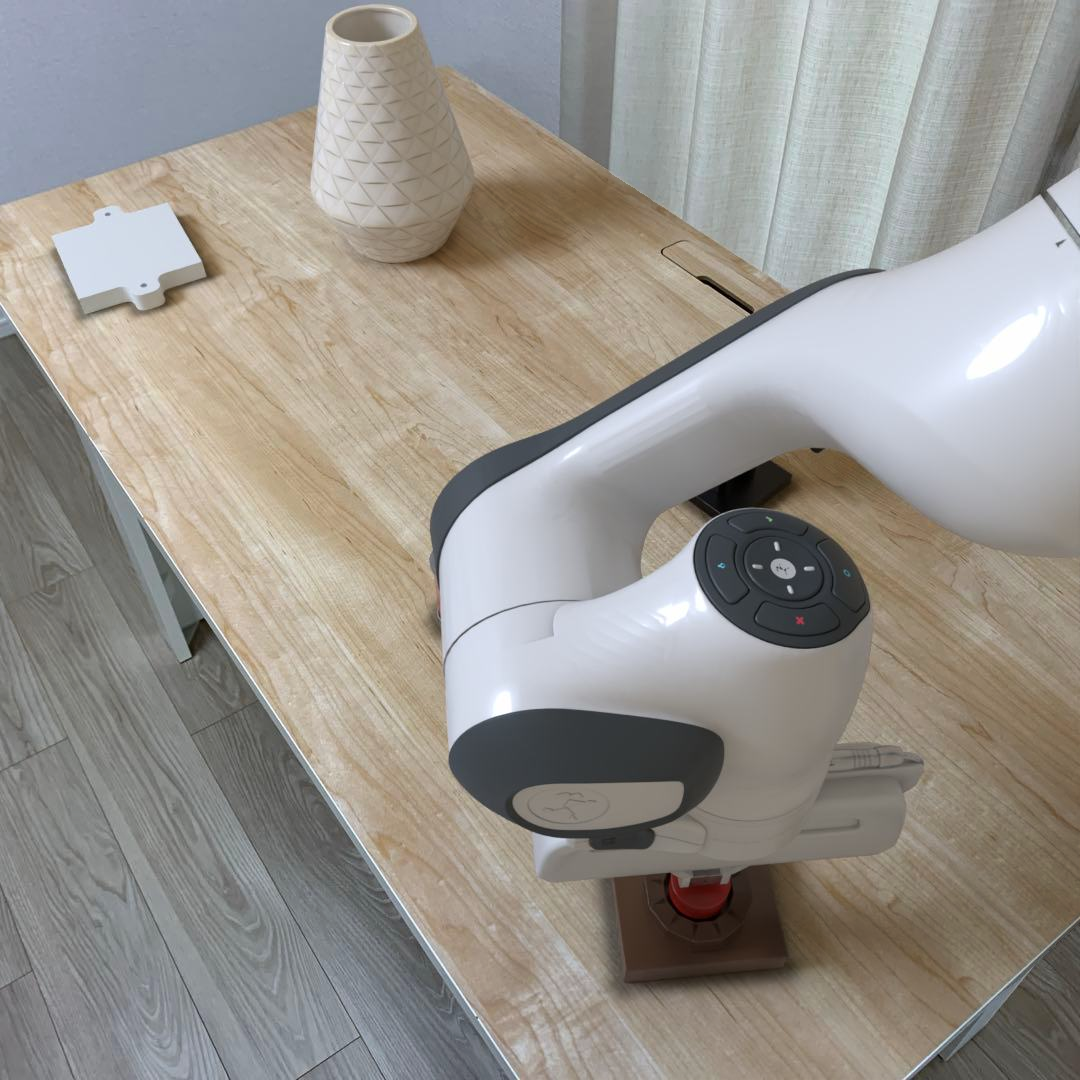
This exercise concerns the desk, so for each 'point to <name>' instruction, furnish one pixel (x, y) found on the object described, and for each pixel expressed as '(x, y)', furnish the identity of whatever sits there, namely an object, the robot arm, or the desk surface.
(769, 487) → the switch bracket
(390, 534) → the desk surface
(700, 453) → the robot arm
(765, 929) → the button box
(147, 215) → the mounting plate
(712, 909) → the light button
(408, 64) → the vase
